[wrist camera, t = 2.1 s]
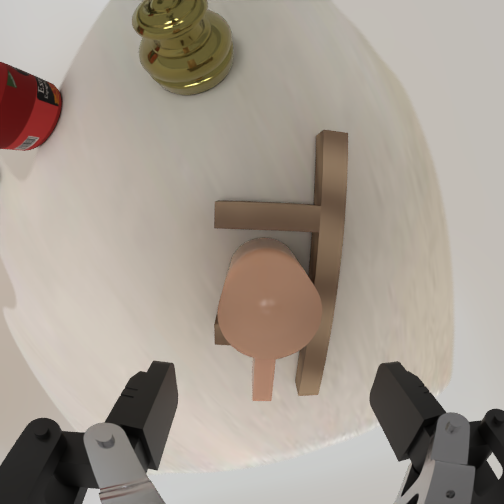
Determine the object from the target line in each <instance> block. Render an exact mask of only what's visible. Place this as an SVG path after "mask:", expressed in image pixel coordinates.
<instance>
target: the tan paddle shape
mask: <svg viewBox="0 0 504 504" xmlns="http://www.w3.org/2000/svg"><path fill="white" fill-rule="evenodd" d="M217 315H218V323H219V327H220V329H221V332H222V334H223V336H224V337H225V339H226V340H227V341H228V343H229V344H230V345H231V346H232V347H234V348H235V349H236V350H238V351H239V352H241V353H243V354H245V355H247V356H250V357H253V366H252V396H253V401H271V398H272V389H273V380H274V370H275V360H276V359H279V358H283V357H287V356H289V355H292V354H294V353H296V352H298V351H299V350H301V349H302V348H303V347H305V346H306V345H307V344H308V343H309V342H310V341H311V340H312V338H313V337H314V335H315V334H316V332H317V330H318V328H319V326H320V323H321V318H322V303H321V299H320V296H319V293H318V291H317V290H316V288H315V286H314V285H313V283H312V282H311V280H310V278H309V277H308V275H307V274H306V272H305V271H304V269H303V268H302V266H301V265H300V263H299V262H298V260H297V259H296V257H295V256H294V254H293V253H292V251H291V250H290V249H289V248H288V247H287V246H286V245H285V244H283V243H282V242H280V241H278V240H275V239H272V238H256V239H252V240H250V241H248V242H246V243H244V244H243V245H242V246H240V247H239V248H238V249H237V250H236V252H235V253H234V255H233V257H232V259H231V262H230V265H229V269H228V272H227V276H226V279H225V283H224V287H223V290H222V294H221V297H220V301H219V305H218V314H217Z"/></svg>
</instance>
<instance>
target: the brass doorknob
mask: <svg viewBox="0 0 504 504" xmlns="http://www.w3.org/2000/svg"><path fill="white" fill-rule="evenodd" d="M207 8H208V2H207V0H143V1H142V2H141V3H140V4H139V5H138V7H137V8H136V10H135V11H134V14H133V17H132V25H133V28H134V30H135V31H136V33H137V34H138V35H140V36H141V37H143V38H142V40H141V43H140V47H139V58H140V62H141V64H142V66H143V68H144V69H145V70H146V71H147V72H148V73H149V74H150V75H151V76H152V78H153V79H154V80H155V81H156V82H158V83H159V84H160V85H161V86H162V87H163V88H164V89H166V90H168V91H170V92H172V93H175V94H181V95H191V94H197V93H201V92H204V91H206V90H209V89H211V88H212V87H214V86H216V85H217V84H218V83H220V82H221V81H222V80H223V79H224V78H225V77H226V75H227V74H228V72H229V71H230V69H231V67H232V63H233V42H232V34H231V29H230V27H229V25H228V23H227V22H226V20H225V19H224V18H223V17H222V16H220V15H219V14H217V13H215V12H213V11H211V10H208V9H207Z"/></svg>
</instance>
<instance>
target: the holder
mask: <svg viewBox="0 0 504 504" xmlns="http://www.w3.org/2000/svg"><path fill="white" fill-rule="evenodd" d="M347 165H348V133H344V132H336V131H329V130H323V131H322V132H320V133H319V134H318V135H317V136H316V168H315V192H314V205H310V204H294V203H275V202H251V201H216V202H215V221H214V228H224V229H254V230H279V231H302V232H312V240H311V253H310V265H309V275H308V277H309V278H310V280H311V282H312V283H313V285H314V286H315V288H316V290H317V291H318V293H319V296H320V299H321V303H322V318H321V323H320V326H319V328H318V330H317V332H316V334H315V335H314V337H313V338H312V340H311V341H310V342H309V343H308V344H307V345H306V346H305V347H303V348H302V349H301V350H300V352H299V359H298V366H297V373H296V379H295V382H296V387H297V391H298V396H306V395H318V393H319V389H320V384H321V380H322V375H323V370H324V365H325V360H326V355H327V350H328V345H329V339H330V334H331V328H332V322H333V316H334V309H335V302H336V295H337V288H338V280H339V272H340V264H341V255H342V245H343V234H344V222H345V208H346V191H347ZM217 314H218V312H217ZM214 328H215V344H217V345H230V344H229V343H228V341H227V340H226V339H225V337H224V336H223V334H222V332H221V329H220V327H219V323H218V315H217V316H216V320H215V324H214Z"/></svg>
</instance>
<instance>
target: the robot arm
mask: <svg viewBox="0 0 504 504" xmlns="http://www.w3.org/2000/svg"><path fill="white" fill-rule="evenodd" d="M177 404H178V390H177V383H176V376H175V368H174V364H173V363H168V362H160V361H153V362H152V364H151V366H150V367H149V369H148V371H147V372H141V371H140V372H138V373H137V374H135V375H134V376H133V377H131V378H130V380H129V381H128V383H127V385H126V386H125V389H124V390H123V391H122V393H121V396H120V397H119V398H118V400H117V402H116V403H115V405H114V407H113V409H112V410H111V412H110V414H109V416H108V417H107V419H106V421H105V422H104V423H98V424H95V425H93V426H91V427H90V428H88V429H87V431H86V432H85V433H80V432H66V431H62V430H61V429H60V427H59V425H58V424H57V423H56V422H55V421H54V420H51V419H48V418H39V419H35V420H33V421H31V422H30V423H29V424H28V425H27V427H26V428H25V429H24V431H23V432H22V434H21V435H20V437H19V438H18V440H17V441H16V443H15V444H14V446H13V447H12V449H11V450H10V452H9V453H8V455H7V456H6V458H5V460H4V461H3V463H2V464H1V466H0V504H82V503H83V500H84V497H85V494H86V492H87V489H88V488H96V489H100V491H101V493H99V497H100V500H101V503H102V504H165V502H164V501H163V499H162V498H161V496H160V494H159V493H158V491H157V490H156V488H155V486H154V485H153V483H152V482H151V481H150V480H149V478H148V476H147V475H146V472H147V469H153V470H158V467H159V464H160V461H161V457H162V454H163V451H164V447H165V444H166V441H167V438H168V434H169V431H170V428H171V425H172V421H173V418H174V415H175V412H176V409H177ZM370 405H371V407H372V409H373V411H374V413H375V415H376V417H377V419H378V421H379V423H380V425H381V427H382V429H383V431H384V433H385V435H386V437H387V439H388V441H389V443H390V445H391V447H392V449H393V451H394V453H395V455H396V457H397V459H398V461H402V460H406V459H409V458H410V460H411V463H410V465H409V466H408V469H407V472H406V475H405V477H404V480H403V483H402V486H401V488H400V491H399V493H398V496H397V498H396V501H395V503H394V504H504V411H503V410H500V409H492V410H489V411H488V412H487V413H486V415H485V417H484V418H483V420H482V421H473V422H468V420H467V419H466V418H465V417H464V416H462V415H460V414H458V413H446V411H445V410H444V409H443V408H442V406H441V405H440V404H439V403H438V401H437V400H436V399H435V397H434V396H433V395H432V394H431V392H430V393H429V390H428V389H427V387H426V386H425V387H424V384H423V382H422V381H421V380H420V379H419V378H418V377H417V376H415V375H414V374H412V373H411V372H409V371H408V372H407V371H406V370H405V368H404V367H403V366H402V365H401V363H400V362H398V361H397V362H390V363H382V364H380V366H379V368H378V371H377V374H376V377H375V380H374V383H373V386H372V389H371V392H370ZM492 452H493V453H494V455H495V456H496V458H497V459H498V461H499V463H500V464H501V466H502V468H503V474H502V476H501V478H500V479H499V480H498V479H497V477H496V475H495V473H494V472H493V470H492V469H491V467H490V465H489V464H488V462H487V461H486V460H487V458H488V457H489V456H490V455H491V453H492Z"/></svg>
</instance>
